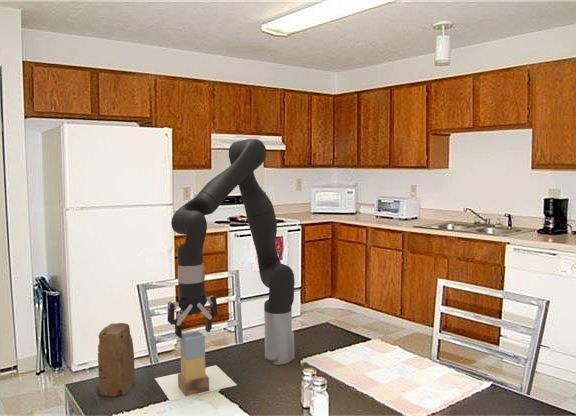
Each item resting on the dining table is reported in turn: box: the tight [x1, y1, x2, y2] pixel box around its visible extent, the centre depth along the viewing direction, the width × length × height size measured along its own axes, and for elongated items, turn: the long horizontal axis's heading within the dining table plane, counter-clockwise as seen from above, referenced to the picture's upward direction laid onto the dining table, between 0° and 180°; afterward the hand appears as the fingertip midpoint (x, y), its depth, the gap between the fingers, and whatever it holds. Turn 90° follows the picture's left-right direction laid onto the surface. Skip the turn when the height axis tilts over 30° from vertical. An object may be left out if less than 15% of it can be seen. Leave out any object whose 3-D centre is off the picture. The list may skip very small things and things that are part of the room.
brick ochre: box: [180, 354, 206, 381], centre depth 144 cm, size 6×6×6 cm
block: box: [97, 322, 135, 397], centre depth 144 cm, size 11×8×20 cm
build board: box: [154, 364, 238, 402], centre depth 149 cm, size 20×17×1 cm
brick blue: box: [179, 330, 206, 360], centre depth 143 cm, size 6×6×6 cm
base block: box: [177, 372, 209, 397], centre depth 144 cm, size 7×7×4 cm
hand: (193, 334), depth 144 cm, fingers open, 8 cm apart
